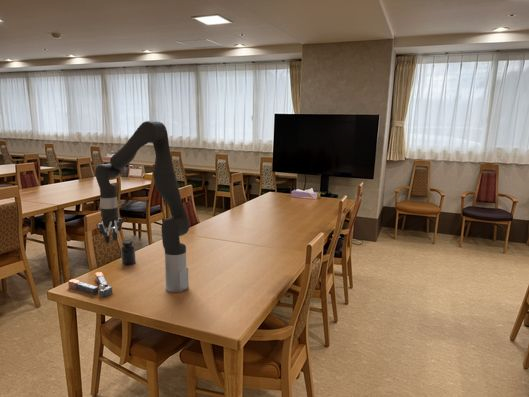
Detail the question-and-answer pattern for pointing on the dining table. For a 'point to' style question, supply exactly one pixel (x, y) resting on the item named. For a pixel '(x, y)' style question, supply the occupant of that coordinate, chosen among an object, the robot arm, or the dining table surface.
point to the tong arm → (101, 279)
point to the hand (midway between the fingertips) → (111, 241)
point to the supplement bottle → (128, 253)
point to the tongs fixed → (90, 288)
